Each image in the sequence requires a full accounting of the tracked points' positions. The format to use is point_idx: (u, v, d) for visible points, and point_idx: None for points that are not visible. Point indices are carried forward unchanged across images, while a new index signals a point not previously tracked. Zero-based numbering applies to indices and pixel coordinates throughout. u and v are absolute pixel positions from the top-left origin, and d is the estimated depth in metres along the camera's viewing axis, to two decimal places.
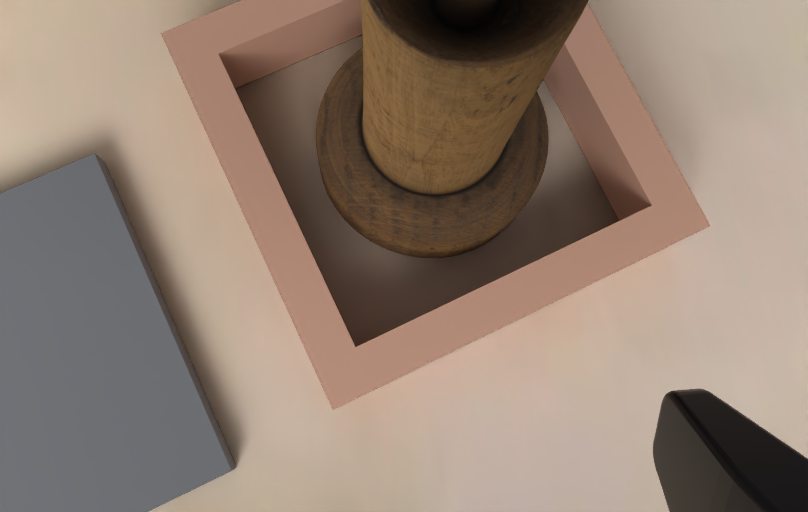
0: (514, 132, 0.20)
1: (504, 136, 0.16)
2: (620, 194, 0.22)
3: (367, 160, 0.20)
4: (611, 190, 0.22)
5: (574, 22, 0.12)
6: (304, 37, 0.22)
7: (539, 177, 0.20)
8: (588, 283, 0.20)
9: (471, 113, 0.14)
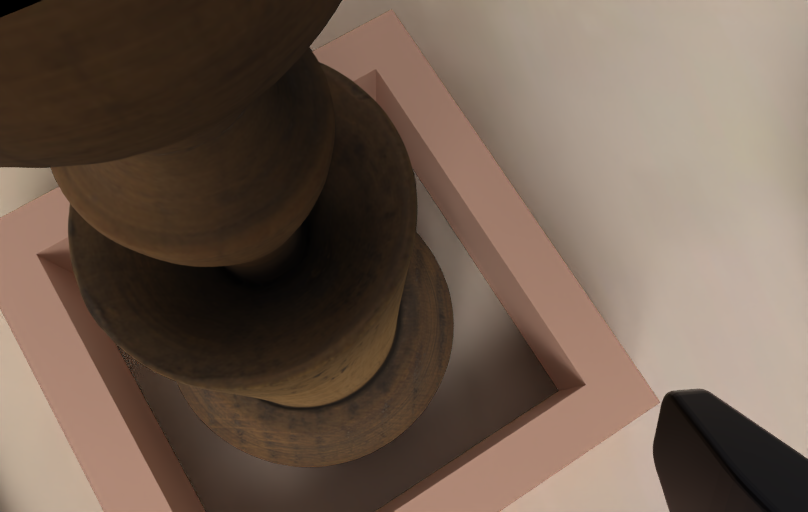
0: (406, 315, 0.16)
1: (369, 365, 0.12)
2: (550, 361, 0.18)
3: None
4: (541, 354, 0.18)
5: (390, 298, 0.08)
6: None
7: (445, 362, 0.17)
8: (518, 496, 0.16)
9: (288, 394, 0.10)
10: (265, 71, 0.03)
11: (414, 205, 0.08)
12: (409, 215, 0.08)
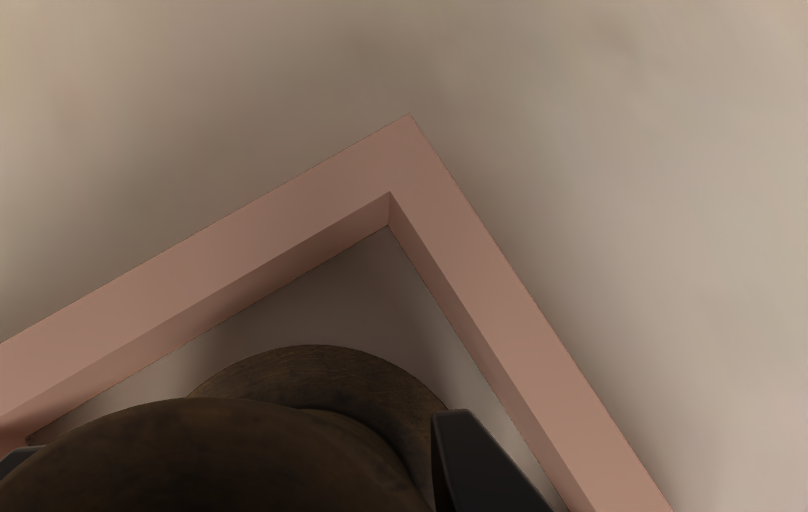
0: None
1: None
2: None
3: None
4: None
5: None
6: (109, 370, 0.15)
7: None
8: None
9: None
10: None
11: None
12: None
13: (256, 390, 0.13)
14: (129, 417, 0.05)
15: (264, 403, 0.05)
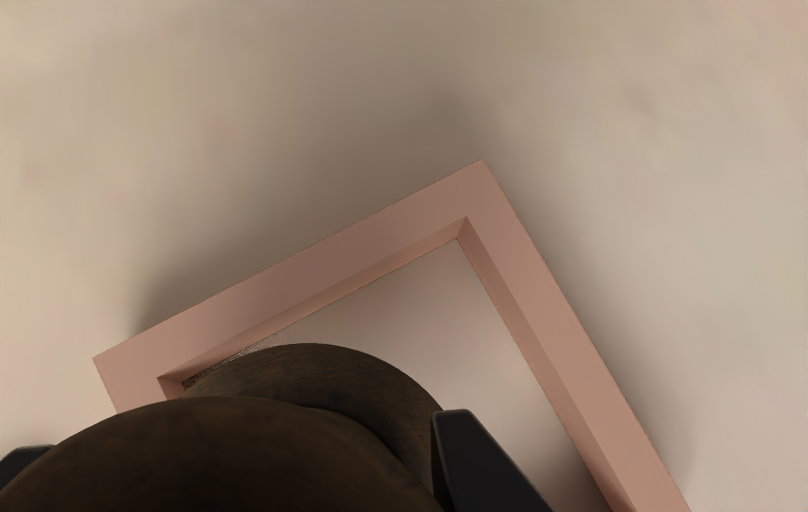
0: None
1: None
2: (610, 491, 0.20)
3: None
4: (599, 480, 0.20)
5: None
6: (253, 335, 0.20)
7: None
8: None
9: None
10: None
11: None
12: None
13: (252, 388, 0.13)
14: (142, 416, 0.05)
15: (277, 402, 0.05)
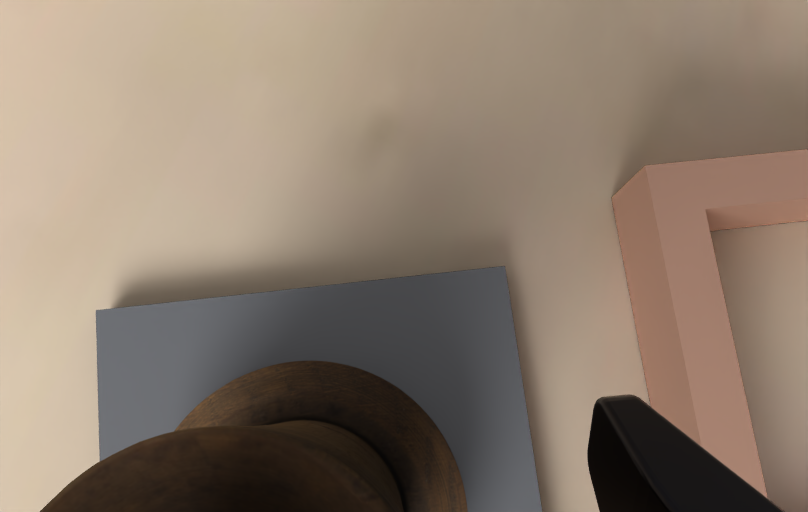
0: None
1: None
2: None
3: None
4: None
5: None
6: (781, 211, 0.18)
7: None
8: None
9: None
10: None
11: None
12: None
13: (257, 402, 0.14)
14: (159, 443, 0.06)
15: (265, 431, 0.06)
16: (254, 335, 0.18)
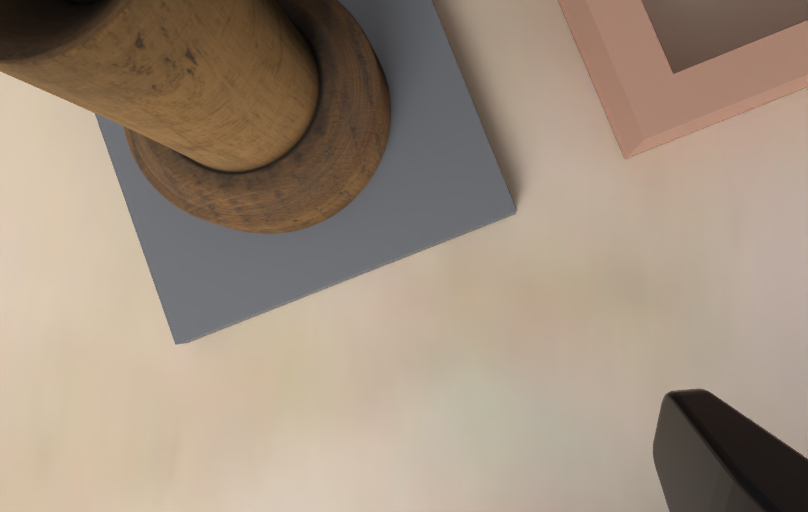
0: (324, 62, 0.17)
1: (262, 85, 0.14)
2: None
3: (181, 158, 0.17)
4: None
5: None
6: None
7: (376, 98, 0.18)
8: None
9: (152, 92, 0.11)
10: None
11: None
12: None
13: None
14: None
15: None
16: None
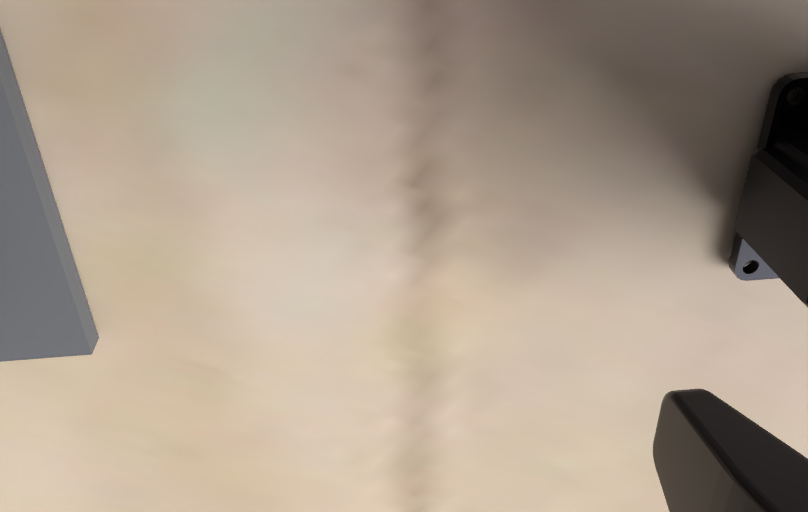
0: None
1: None
2: None
3: None
4: None
5: None
6: None
7: None
8: None
9: None
10: None
11: None
12: None
13: None
14: None
15: None
16: None
